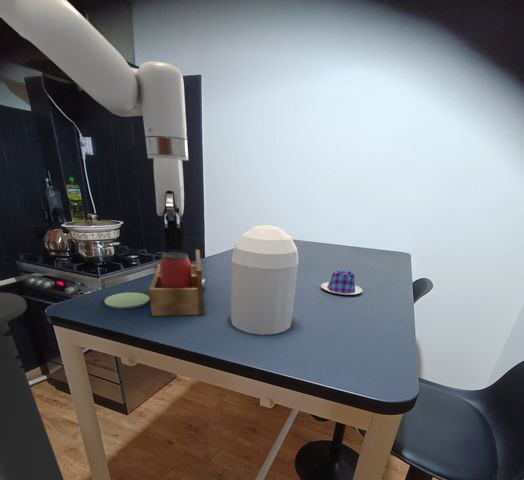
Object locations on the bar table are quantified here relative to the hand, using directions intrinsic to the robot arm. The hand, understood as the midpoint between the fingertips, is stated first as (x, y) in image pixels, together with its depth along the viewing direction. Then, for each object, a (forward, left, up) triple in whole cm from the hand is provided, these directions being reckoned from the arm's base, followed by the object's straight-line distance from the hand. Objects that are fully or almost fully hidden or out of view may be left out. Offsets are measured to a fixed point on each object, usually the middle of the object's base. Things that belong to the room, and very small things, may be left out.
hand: (175, 244), depth 68 cm
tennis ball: (+3, +12, -12) cm, 17 cm away
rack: (0, +5, -14) cm, 15 cm away
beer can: (0, 0, -14) cm, 14 cm away
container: (+18, -10, -14) cm, 25 cm away
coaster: (-12, +4, -14) cm, 19 cm away
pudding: (+46, +11, -14) cm, 49 cm away
